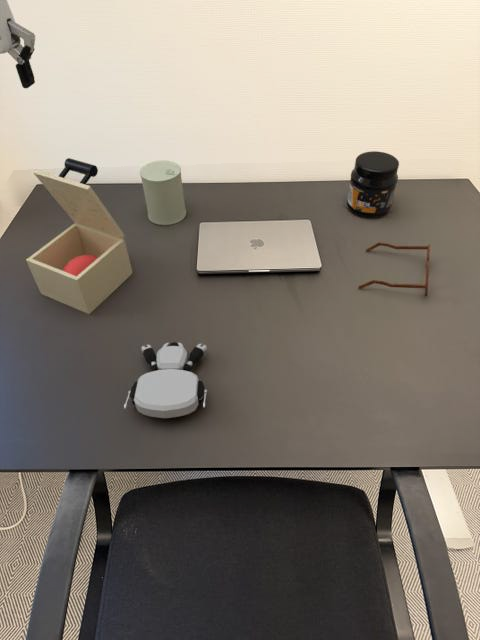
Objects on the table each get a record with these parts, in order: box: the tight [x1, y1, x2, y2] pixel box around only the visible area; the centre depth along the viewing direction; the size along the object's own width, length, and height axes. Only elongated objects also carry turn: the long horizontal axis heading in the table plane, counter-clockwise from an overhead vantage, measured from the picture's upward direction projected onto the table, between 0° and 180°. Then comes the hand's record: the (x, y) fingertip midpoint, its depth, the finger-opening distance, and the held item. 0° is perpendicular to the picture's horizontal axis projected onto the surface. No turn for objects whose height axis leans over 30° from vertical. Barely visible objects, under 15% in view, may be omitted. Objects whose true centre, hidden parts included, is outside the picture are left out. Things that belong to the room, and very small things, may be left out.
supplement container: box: [346, 150, 400, 219], centre depth 109 cm, size 10×10×12 cm
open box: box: [25, 222, 133, 315], centre depth 93 cm, size 14×13×9 cm
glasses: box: [358, 242, 431, 297], centre depth 94 cm, size 13×13×5 cm
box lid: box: [33, 157, 126, 239], centre depth 88 cm, size 14×13×6 cm
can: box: [139, 160, 187, 226], centre depth 108 cm, size 9×9×12 cm
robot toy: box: [123, 341, 208, 419], centre depth 76 cm, size 12×4×15 cm
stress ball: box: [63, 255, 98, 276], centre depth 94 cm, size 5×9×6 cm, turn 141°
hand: (5, 84), depth 86 cm, fingers open, 9 cm apart
